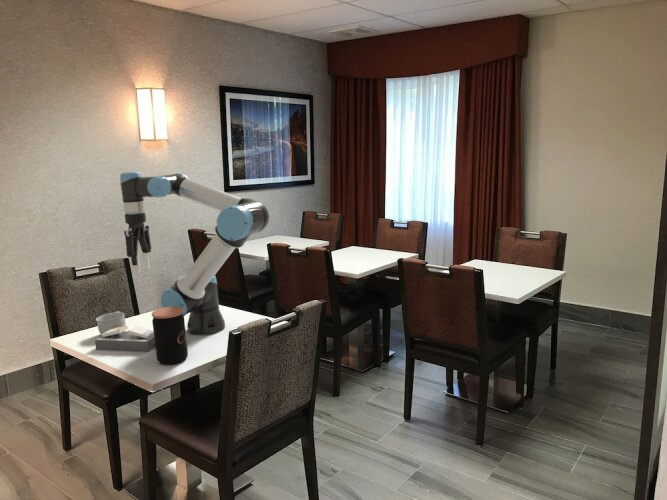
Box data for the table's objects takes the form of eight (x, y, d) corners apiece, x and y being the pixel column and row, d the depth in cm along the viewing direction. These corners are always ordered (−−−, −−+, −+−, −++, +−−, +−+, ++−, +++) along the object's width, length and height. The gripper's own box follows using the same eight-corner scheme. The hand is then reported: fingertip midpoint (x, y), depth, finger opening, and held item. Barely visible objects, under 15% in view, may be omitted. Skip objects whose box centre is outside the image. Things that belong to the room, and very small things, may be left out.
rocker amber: (128, 328, 210) (126, 324, 210) (120, 332, 205) (119, 329, 205) (110, 332, 212) (109, 329, 212) (102, 337, 207) (101, 333, 207)
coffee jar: (185, 364, 188) (180, 314, 185) (153, 367, 187) (147, 317, 184) (190, 352, 199) (185, 305, 195) (161, 355, 198) (155, 307, 194)
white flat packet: (153, 333, 208) (154, 330, 208) (146, 338, 203) (147, 335, 203) (134, 328, 209) (135, 325, 209) (127, 333, 205) (127, 329, 204)
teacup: (116, 339, 216) (114, 320, 215) (92, 338, 219) (90, 319, 217) (136, 327, 230) (133, 309, 228) (113, 327, 232) (110, 309, 230)
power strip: (171, 342, 210) (170, 330, 209) (158, 352, 201) (157, 339, 200) (111, 340, 216) (110, 328, 215) (96, 349, 206) (94, 337, 205)
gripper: (139, 209, 219) (146, 265, 223) (111, 216, 201) (119, 277, 205) (156, 209, 217) (162, 265, 222) (129, 215, 199) (137, 277, 204)
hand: (141, 270), depth 213 cm, fingers open, 6 cm apart
